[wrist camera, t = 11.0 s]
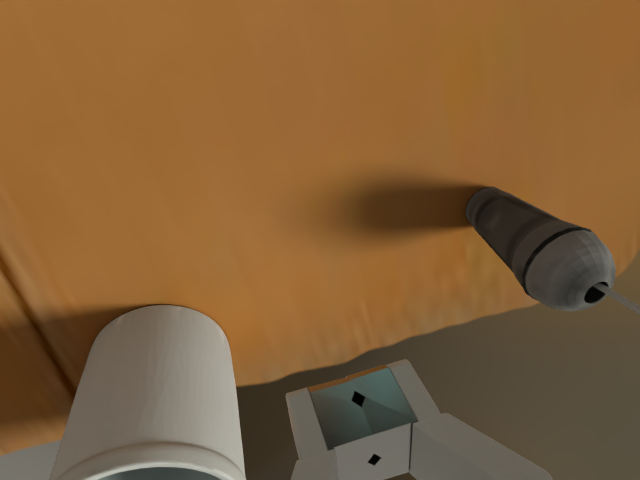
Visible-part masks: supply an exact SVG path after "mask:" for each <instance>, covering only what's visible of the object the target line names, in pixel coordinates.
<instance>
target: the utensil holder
mask: <svg viewBox="0 0 640 480" xmlns="http://www.w3.org/2000/svg"><path fill="white" fill-rule="evenodd" d="M49 480H246V478H245V471H244V460H243V451H242V441H241V432H240V422H239V413H238V403H237V395H236V386H235V379H234V372H233V366H232V360H231V353H230V348H229V344H228V341H227V338H226V336H225V334H224V332H223V331H222V329H221V328H220V327H219V326H218V324H217V323H216V322H214V321H213V320H212V319H211V318H209V317H208V316H206V315H204V314H202V313H200V312H198V311H195V310H193V309H189V308H186V307H181V306H174V305H155V306H148V307H143V308H139V309H136V310H133V311H130V312H128V313H125V314H123V315H121V316H119V317H117V318H116V319H114V320H113V321H111V322H110V323H109V324H108V325H106V326H105V327H104V328H103V329H102V331H101V332H100V333H99V334H98V336H97V337H96V339H95V341H94V343H93V345H92V347H91V350H90V353H89V355H88V359H87V362H86V365H85V368H84V371H83V374H82V377H81V380H80V383H79V386H78V389H77V392H76V395H75V398H74V401H73V405H72V408H71V411H70V415H69V418H68V421H67V425H66V428H65V431H64V434H63V437H62V440H61V444H60V447H59V450H58V453H57V456H56V460H55V462H54V466H53V469H52V472H51V475H50V478H49Z"/></svg>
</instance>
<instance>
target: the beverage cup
mask: <svg viewBox="0 0 640 480" xmlns="http://www.w3.org/2000/svg"><path fill="white" fill-rule="evenodd" d="M466 217H467V219H468V221H469V222H470V223H471V224H472V226H473V227H474V229H475V230H476V231H477V232H478V233H479V235H480V236H481V237H482V238H483V239H484V240H485V241H486V242H487V244H488V245H489V246H490V247H491V248H492V249H493V250H494V251H495V253H496V254H497V255H498V256H499V257H500V258H501V259H502V260H503V262H504V263H505V264H506V265H507V266H508V267H509V268H510V269H511V270H512V272H513V273H514V275H515V277H516V278H517V280H518V281H519V283H520V284H521V286H522V287H523V288H524V291H525V293H526V294H528V295H529V296H530V297H532V298H533V299H535V300H538V301H539V302H541V303H542V304H544V305H546V306H548V307H551V308H553V309H559V310H565V311H577V310H583V309H587V308H590V307H592V306H594V305H596V304H597V303H599V302H601V301H602V300H603V299H604V298H605V297H606V296H607V295H608V296H610V297H612V298H613V299H615V300H617V301H618V302H620V303H622V304H623V305H625V306H627V307H628V308H630V309H632V310H633V311H635V312H637V313H639V314H640V306H639V305H637V304H635V303H633V302H632V301H630V300H629V299H627V298H625V297H624V296H622V295H620V294H618V293H617V292H615V291H613V290H612V289H611V288H612V286H613V284H614V280H615V272H616V270H615V264H614V261H613V257H612V255H611V252H610V251H609V249H608V248H607V247H606V246H605V244H604V243H603V242H602V241H601V240H600V239H599V238H598V237H597V236H596V235H595V234H594V233H593V232H592V231H591V230H590V229H586V228H583V227H580V226H577V225H574V224H571V223H568V222H565V221H562V220H560V219H558V218H556V217H554V216H552V215H550V214H548V213H546V212H545V211H543V210H541V209H539V208H537V207H535V206H533V205H531V204H529V203H527V202H525V201H523V200H521V199H519V198H517V197H515V196H514V195H512V194H510V193H507V192H504V191H502V190H500V189H498V188H495V187H486V188H484V189H481V190H479V191H478V192H477V193H475V194H474V195H473V196H472V198H471V199H470V200H469V202H468V204H467V207H466Z"/></svg>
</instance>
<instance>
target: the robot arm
mask: <svg viewBox="0 0 640 480" xmlns="http://www.w3.org/2000/svg"><path fill="white" fill-rule="evenodd" d="M286 399H287V404H288V410H289V415H290V420H291V425H292V430H293V435H294V439H295V444H296V447H297V451H298V455H299V459H300V460H297V462H296V465H295V468H294V471H293V474H292V477H291V480H384V479H388V478H391V477H394V476H397V475H400V474H404V473H407V472H410V474H411V475H412V476H414V477H415V478H416V479H417V480H553V479H552V477H551V476H550V475H549V473H548V472H547V471H546V470H544V469H542V468H541V467H539V466H537V465H535V464H534V463H532V462H530V461H529V460H527V459H525V458H523V457H522V456H520V455H518V454H517V453H515V452H513V451H512V450H510V449H508V448H506V447H504V446H503V445H501V444H499V443H498V442H496V441H494V440H492V439H491V438H489V437H487V436H486V435H484V434H482V433H481V432H479V431H477V430H475V429H474V428H472V427H470V426H469V425H467V424H465V423H464V422H462V421H460V420H458V419H457V418H455V417H453V416H451V415H450V414H448V413H444V414H440V412H439V410H438V408H437V407H436V405H435V403H434V402H433V400H432V399H431V397H430V395H429V394H428V392H427V390H426V389H425V387H424V385H423V384H422V382H421V380H420V379H419V377H418V375H417V374H416V372H415V370H414V369H413V367H412V365H411V364H410V362H409V361H407V360H401V361H398V362H394V363H391V364H388V365H383V366H379V367H376V368H373V369H369V370H366V371H363V372H360V373H356V374H353V375H350V376H347V377H346V378H343V379H338V380H335V381H331V382H327V383H323V384H320V385H315V386H312V387H308V388H304V389H301V390H297V391H294V392H290V393H287V394H286Z"/></svg>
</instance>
